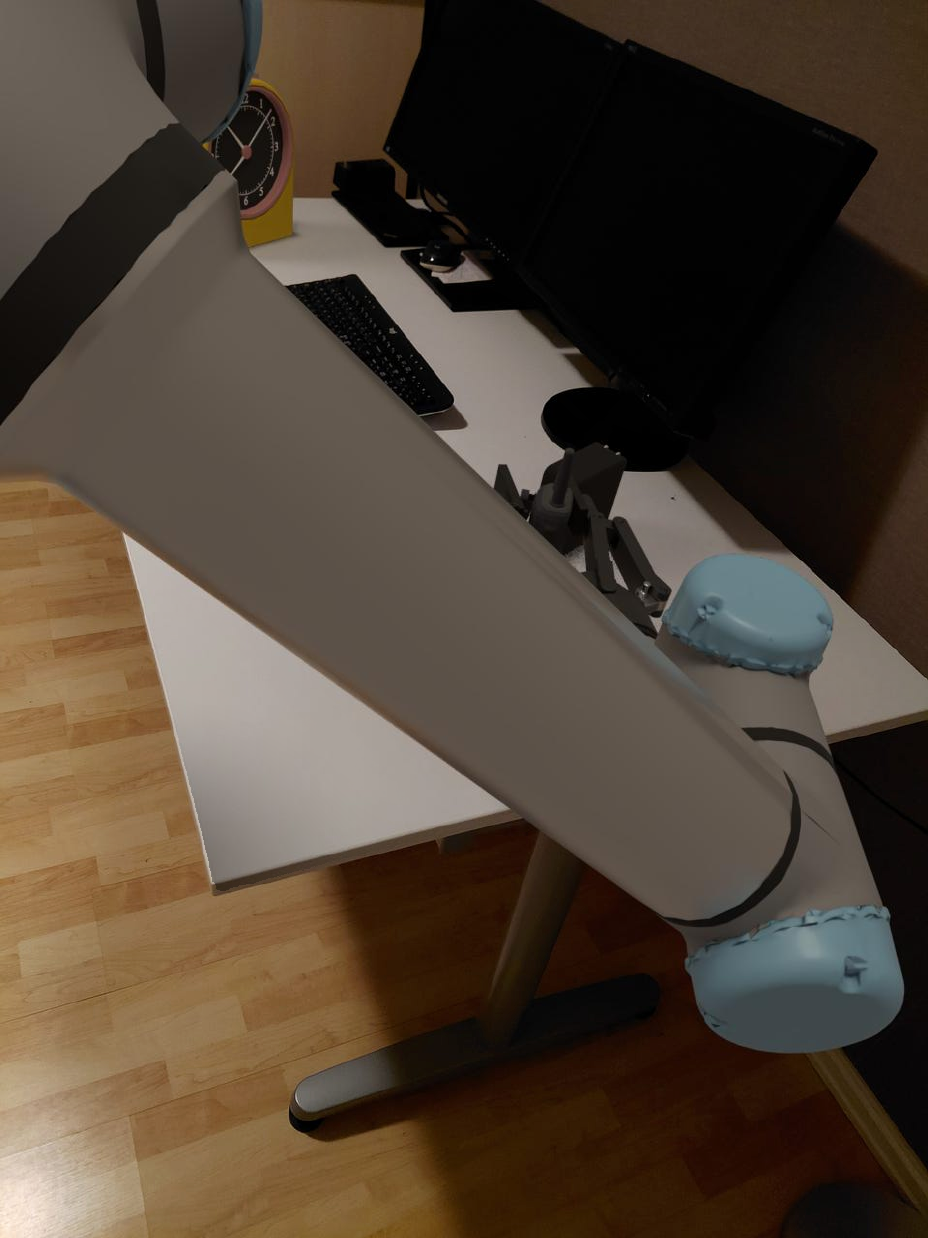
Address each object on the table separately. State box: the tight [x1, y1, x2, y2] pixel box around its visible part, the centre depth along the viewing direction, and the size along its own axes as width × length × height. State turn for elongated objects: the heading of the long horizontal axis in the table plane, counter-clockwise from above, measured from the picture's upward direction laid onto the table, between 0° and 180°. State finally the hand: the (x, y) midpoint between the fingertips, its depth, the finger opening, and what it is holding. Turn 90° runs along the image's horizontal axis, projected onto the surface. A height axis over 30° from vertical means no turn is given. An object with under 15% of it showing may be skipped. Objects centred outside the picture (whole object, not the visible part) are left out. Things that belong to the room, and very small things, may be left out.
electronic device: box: [539, 441, 628, 557], centre depth 93 cm, size 4×10×10 cm, turn 137°
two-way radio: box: [520, 447, 576, 554], centre depth 71 cm, size 6×4×15 cm
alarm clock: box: [203, 70, 295, 248], centre depth 140 cm, size 21×9×26 cm, turn 147°
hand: (530, 478), depth 74 cm, fingers closed on two-way radio, 5 cm apart
